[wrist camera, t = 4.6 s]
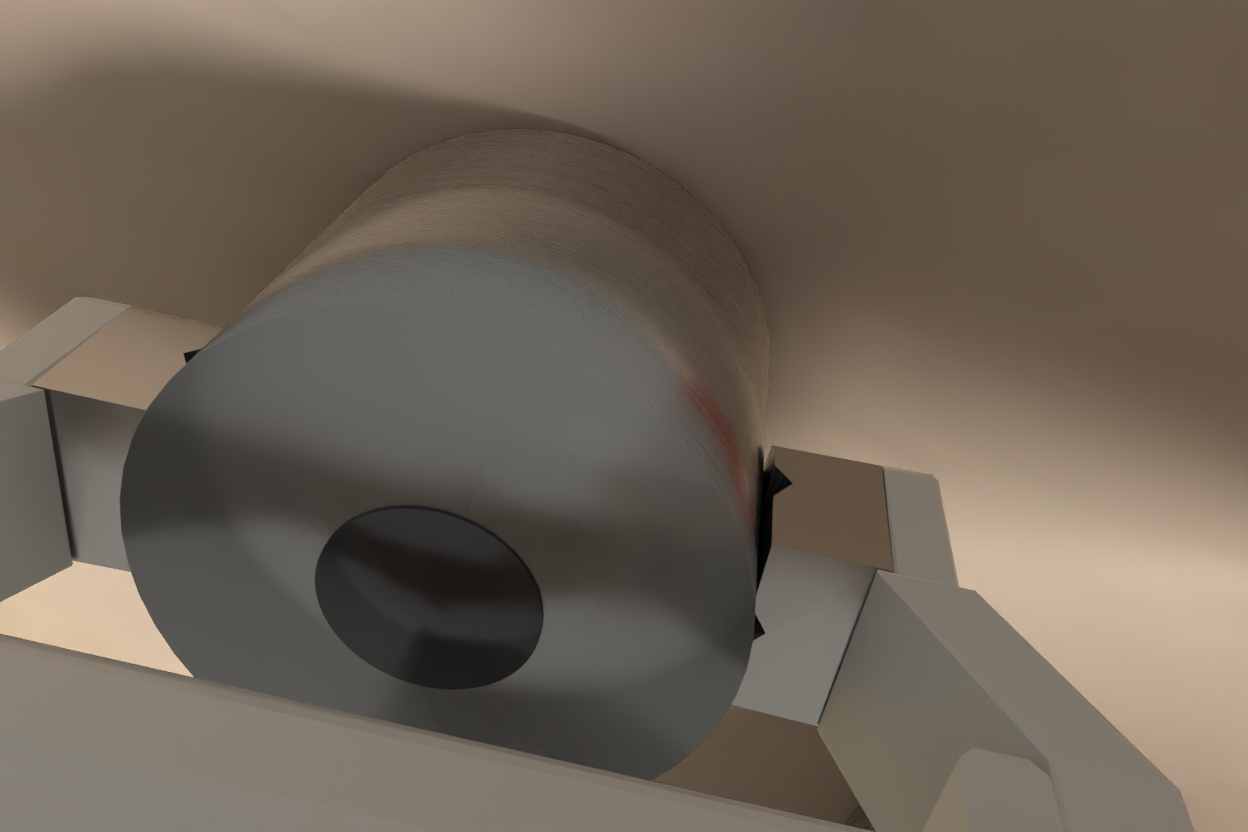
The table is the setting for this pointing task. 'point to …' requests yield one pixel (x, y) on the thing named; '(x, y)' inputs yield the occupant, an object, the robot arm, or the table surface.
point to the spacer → (476, 462)
